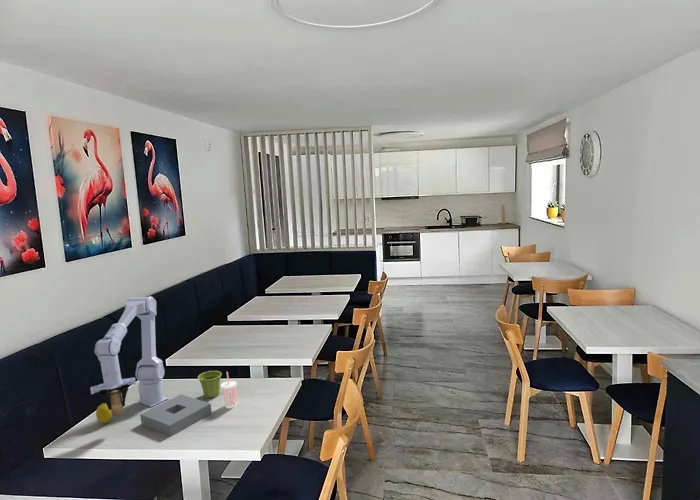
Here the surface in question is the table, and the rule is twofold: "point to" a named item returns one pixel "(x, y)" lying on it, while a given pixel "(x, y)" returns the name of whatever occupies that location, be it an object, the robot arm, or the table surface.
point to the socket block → (175, 414)
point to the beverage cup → (229, 393)
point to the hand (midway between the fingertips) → (117, 407)
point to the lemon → (103, 413)
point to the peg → (116, 403)
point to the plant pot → (210, 383)
